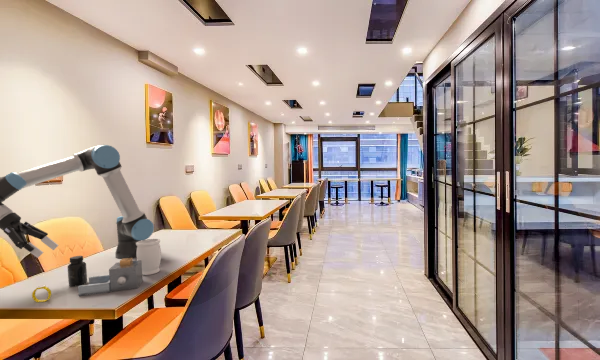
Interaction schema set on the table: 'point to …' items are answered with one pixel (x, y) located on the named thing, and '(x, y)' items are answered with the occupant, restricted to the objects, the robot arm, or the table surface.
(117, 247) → the robot arm
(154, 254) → the jar
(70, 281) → the supplement bottle
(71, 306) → the table surface
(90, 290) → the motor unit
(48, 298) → the watch
